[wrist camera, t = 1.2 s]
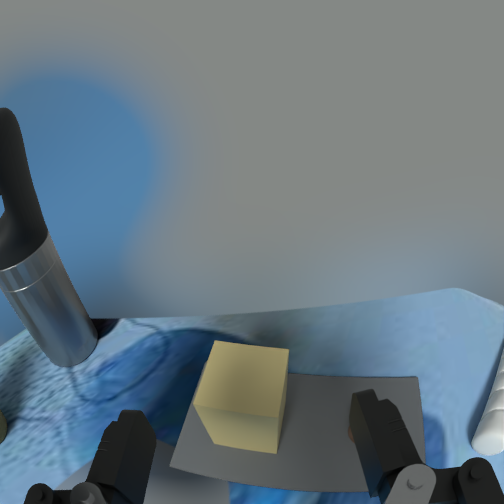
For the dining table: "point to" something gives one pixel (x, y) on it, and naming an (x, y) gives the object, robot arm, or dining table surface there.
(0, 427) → the squeeze bottle
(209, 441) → the mat
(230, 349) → the tall cream block
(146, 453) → the robot arm
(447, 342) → the dining table surface
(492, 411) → the unicorn horn
